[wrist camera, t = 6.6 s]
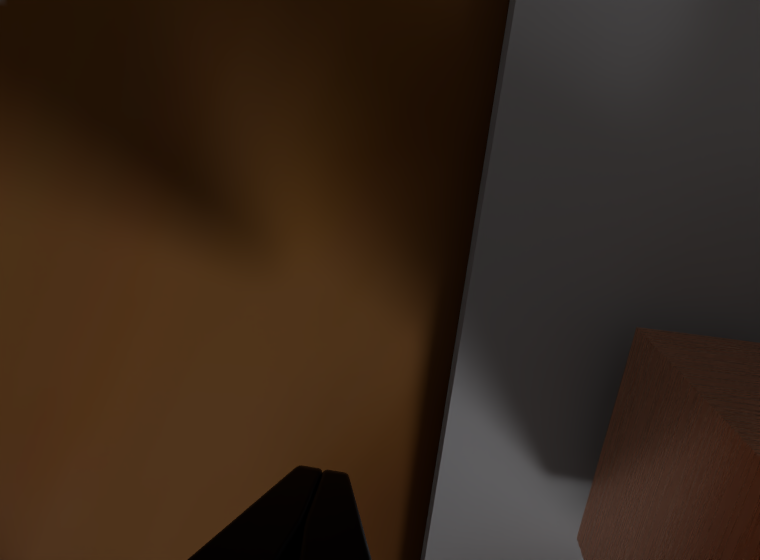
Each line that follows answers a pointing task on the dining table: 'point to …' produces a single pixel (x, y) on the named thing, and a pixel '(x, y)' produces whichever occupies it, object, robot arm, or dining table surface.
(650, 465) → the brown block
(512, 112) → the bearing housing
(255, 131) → the dining table surface
